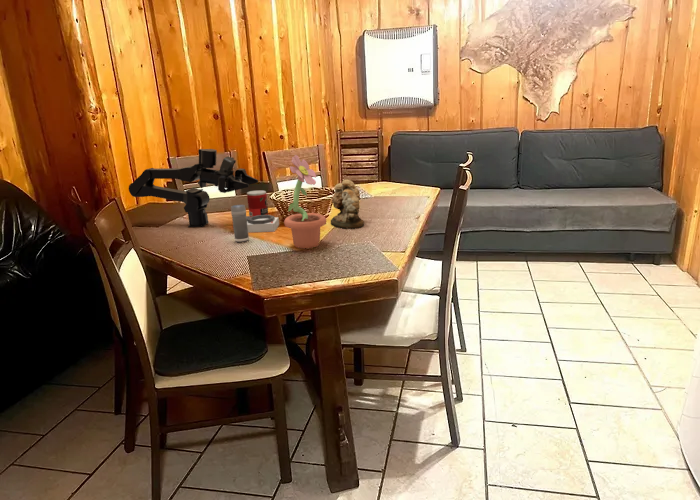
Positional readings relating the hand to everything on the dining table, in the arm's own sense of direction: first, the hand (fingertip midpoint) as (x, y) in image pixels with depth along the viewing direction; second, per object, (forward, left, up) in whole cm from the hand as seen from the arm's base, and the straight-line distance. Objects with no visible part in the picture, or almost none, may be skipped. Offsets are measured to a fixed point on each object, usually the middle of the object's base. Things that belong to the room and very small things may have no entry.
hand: (253, 183), depth 190 cm
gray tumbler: (-1, -21, -17) cm, 26 cm away
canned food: (-2, +12, -17) cm, 21 cm away
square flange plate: (+2, -5, -17) cm, 17 cm away
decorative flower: (+23, -30, -17) cm, 41 cm away
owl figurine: (+35, -2, -17) cm, 39 cm away
